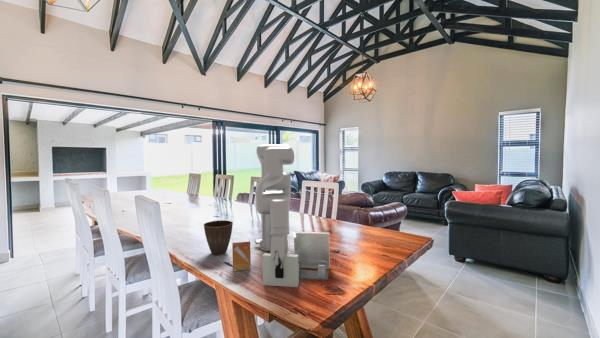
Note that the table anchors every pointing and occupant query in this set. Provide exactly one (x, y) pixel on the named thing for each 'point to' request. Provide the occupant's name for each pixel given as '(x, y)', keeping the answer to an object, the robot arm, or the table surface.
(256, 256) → the table surface
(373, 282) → the table surface
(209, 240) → the plant pot
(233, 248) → the small box
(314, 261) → the white boxy piece
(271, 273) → the door panel
